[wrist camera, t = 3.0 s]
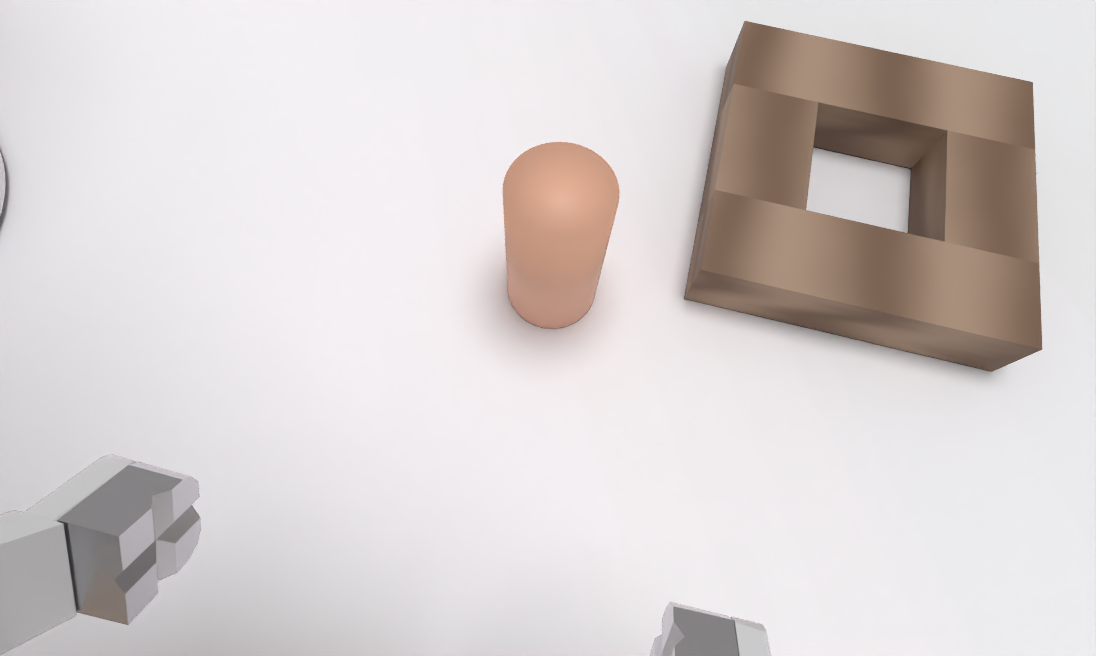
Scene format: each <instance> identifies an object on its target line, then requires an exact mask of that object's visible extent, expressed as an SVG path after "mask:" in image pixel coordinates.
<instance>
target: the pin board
mask: <svg viewBox="0 0 1096 656" xmlns="http://www.w3.org/2000/svg"><path fill="white" fill-rule="evenodd" d="M813 147H817V148H821V149H826V150H830V151H835V152H839V153H844V154H848V155H853V156H857V157H862V158H866V159H871V160H875V161H880V162H884V163H889V164H893V165H898V166H902V167H907V168H911V185H910V206H909V227H908V233H904V232H899V231H895V230H891V229H886V228H882V227H877V226H873V225H869V224H864V223H860V222H855V221H851V220H847V219H842V218H838V217H833V216H829V215H825V214H820V213H816V212H811V211H807V210H806V205H807V196H808V187H809V179H810V170H811V161H812V152H813ZM684 299H688V300H692V301H696V302H701V303H705V304H709V305H713V306H718V307H722V308H726V309H730V310H734V311H739V312H743V313H747V314H751V315H756V316H760V317H764V318H768V319H773V320H777V321H781V322H785V323H789V324H794V325H798V326H802V327H806V328H811V329H815V330H819V331H823V332H827V333H832V334H836V335H840V336H844V337H849V338H853V339H857V340H861V341H866V342H870V343H874V344H878V345H882V346H887V347H891V348H895V349H899V350H904V351H908V352H912V353H916V354H920V355H925V356H929V357H933V358H937V359H942V360H946V361H950V362H954V363H959V364H963V365H967V366H971V367H975V368H980V369H984V370H988V371H994V370H997V369H999V368H1001V367H1003V366H1006V365H1008V364H1010V363H1013V362H1015V361H1017V360H1019V359H1022V358H1024V357H1026V356H1028V355H1031V354H1033V353H1035V352H1037V351H1040V350H1042V331H1041V303H1040V274H1039V246H1038V218H1037V190H1036V162H1035V134H1034V106H1033V82H1029V81H1024V80H1020V79H1015V78H1010V77H1006V76H1001V75H996V74H992V73H987V72H982V71H977V70H973V69H968V68H963V67H959V66H954V65H949V64H945V63H940V62H935V61H931V60H926V59H921V58H916V57H912V56H907V55H902V54H898V53H893V52H888V51H884V50H879V49H874V48H870V47H865V46H860V45H855V44H851V43H846V42H841V41H837V40H832V39H827V38H823V37H818V36H813V35H808V34H804V33H799V32H794V31H790V30H785V29H780V28H776V27H771V26H766V25H762V24H757V23H752V22H747V21H744V24H743V27H742V29H741V32H740V34H739V37H738V39H737V42H736V44H735V47H734V49H733V52H732V54H731V57H730V59H729V62H728V64H727V68H726V73H725V79H724V84H723V90H722V95H721V100H720V106H719V111H718V117H717V122H716V128H715V133H714V139H713V144H712V149H711V155H710V160H709V166H708V171H707V177H706V182H705V187H704V193H703V198H702V204H701V209H700V215H699V220H698V226H697V231H696V236H695V242H694V247H693V253H692V258H691V264H690V269H689V275H688V280H687V285H686V291H685V296H684Z"/></svg>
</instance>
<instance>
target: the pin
mask: <svg viewBox="0 0 1096 656" xmlns="http://www.w3.org/2000/svg"><path fill="white" fill-rule="evenodd" d="M618 202H619V185H618V181H617V178H616V176H615V174H614V172H613V170H612V169H611V167H610V166H609V164H608V163H607V162H606V161H605V160H604V159H603V158H602V157H601V156H599V155H598V154H597V153H595V152H594V151H592V150H590V149H588V148H586V147H583V146H580V145H577V144H573V143H567V142H552V143H545V144H542V145H538V146H536V147H533V148H531V149H529V150H527V151H526V152H524V153H523V154H521V155H520V156H519V157H518V158H517V159H516V160H515V161H514V162H513V163H512V165H511V166H510V168H509V169H508V171H507V173H506V176H505V179H504V183H503V206H504V226H505V246H506V266H507V286H508V296H509V299H510V302H511V304H512V306H513V308H514V309H515V311H516V312H517V313H518V314H519V315H520V316H521V317H522V318H523V319H524V320H526V321H527V322H529V323H531V324H533V325H535V326H538V327H542V328H550V329H554V328H562V327H566V326H569V325H571V324H573V323H575V322H577V321H578V320H580V319H581V318H582V317H583V316H584V315H585V314H586V313H587V312H588V310H589V309H590V307H591V305H592V303H593V300H594V296H595V292H596V289H597V285H598V281H599V277H600V273H601V269H602V265H603V261H604V257H605V253H606V249H607V246H608V242H609V238H610V234H611V230H612V226H613V222H614V218H615V214H616V210H617V207H618Z"/></svg>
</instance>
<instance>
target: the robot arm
mask: <svg viewBox="0 0 1096 656" xmlns="http://www.w3.org/2000/svg"><path fill="white" fill-rule="evenodd" d="M5 185H6V182H5V168H4V163H3V159H2V155H1V153H0V215H1V211H2V207H3V203H4V196H5ZM199 497H200V496H199V485H198V481H197V480H196V479H194V478H192V477H190V476H187V475H183V474H180V473H176V472H173V471H169V470H166V469H162V468H159V467H155V466H152V465H148V464H145V463H142V462H136V461H132V460H129V459H125V458H122V457H119V456H115V455H108V456H104V457H101V458H99V459H98V460H97V461H95V462H94V463H92V464H91V465H90V466H88V467H87V468H85V469H84V470H83V471H81V472H80V473H78V474H77V475H76V476H74V477H73V478H71V479H70V480H69V481H67V482H66V483H64V484H63V485H62V486H60V487H59V488H57V489H56V490H55V491H53V492H52V493H50V494H49V495H48V496H46V497H45V498H43V499H42V500H41V501H39V502H38V503H37V504H35V505H34V506H32V507H31V508H30V509H28V510H27V511H25V512H24V513H23V512H19V511H15V510H14V511H11V512H8V513H4V514H1V515H0V655H1V654H3V653H5V652H7V651H9V650H11V649H13V648H15V647H17V646H19V645H21V644H23V643H24V642H26V641H28V640H30V639H32V638H34V637H36V636H38V635H40V634H42V633H44V632H46V631H48V630H50V629H52V628H54V627H55V626H57V625H59V624H61V623H63V622H65V621H67V620H69V619H71V618H73V617H75V616H76V615H77V612H78V613H82V614H86V615H90V616H94V617H98V618H102V619H106V620H110V621H114V622H118V623H122V624H126V625H129V624H130V623H131V622H132V620H133V619H134V618H135V617H136V616H137V615H138V614H139V613H140V612H141V611H142V610H143V609H144V608H145V607H146V605H147V604H148V603H149V602H150V601H151V600H152V599H153V598H154V597H155V596H156V595H157V594H158V584H159V580H161V579H163V578H166V577H168V576H170V575H173V574H175V573H177V572H178V571H179V570H180V569H181V568H182V566H183V565H184V564H185V563H186V562H187V561H188V560H189V558H190V556H191V554H192V552H193V550H194V548H195V547H196V545H197V543H198V539H199V534H200V530H201V524H200V516H199V515H198V514H197V512H196V511H195V509H194V508H193V506H192V504H193V503H194V502H195V501H196V500H197V499H198V498H199ZM650 656H771V652H770V647H769V642H768V637H767V632H766V629H765V628H764V626H763V625H762V624H759V623H755V622H751V621H747V620H743V619H738V618H734V617H729V616H725V615H721V614H718V613H714V612H710V611H706V610H702V609H698V608H694V607H690V606H686V605H682V604H678V603H674V602H669V604H668V605H667V607H666V609H665V612H664V615H663V617H662V635H660V636H658V637H656V638H655V640H654V643H653V646H652V649H651V652H650Z"/></svg>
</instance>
